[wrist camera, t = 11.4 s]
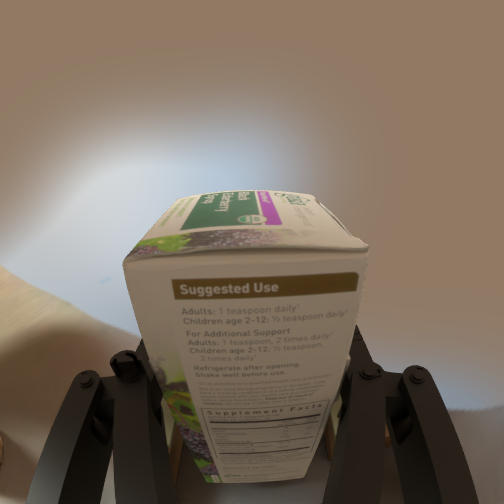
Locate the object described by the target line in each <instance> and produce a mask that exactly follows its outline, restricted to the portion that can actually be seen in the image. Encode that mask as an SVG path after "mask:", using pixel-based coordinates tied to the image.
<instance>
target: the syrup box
mask: <svg viewBox="0 0 504 504" xmlns="http://www.w3.org/2000/svg"><path fill="white" fill-rule="evenodd" d="M368 248H369V245H368V244H365V243H363V242H362V241H361V240H360V239H359V238H355V237H352V235H351V234H350V233H349V232H348V230H347V229H346V228H345V227H344V226H343V224H342V223H341V222H340V221H339V220H338V219H337V218H336V217H335V216H334V214H332V213H331V212H330V211H329V210H328V209H327V208H325V207H324V206H323V205H322V204H321V203H320V202H319V201H318V200H317V199H316V198H315V197H314V196H312V195H309V194H300V193H292V192H283V191H269V190H268V191H267V190H236V191H222V192H214V193H206V194H200V195H195V196H190V197H186V198H181V199H178V200H176V202H175V203H174V204H173V205H172V206H171V207H170V208H169V209H168V210H167V211H166V212H165V213H164V214H163V215H162V217H161V218H160V219H159V220H158V221H157V223H155V224H154V225H153V227H152V228H151V229H150V230H149V231H148V232H147V233H146V235H145V236H144V237H143V238H142V239H141V240H140V241H139V242H138V244H137V245H136V246H135V247H134V248H133V250H132V251H131V252H130V253H129V254H128V255H127V257H126V258H125V259H124V261H123V270H124V274H125V280H126V284H127V289H128V292H129V295H130V299H131V302H132V305H133V309H134V313H135V317H136V320H137V323H138V326H139V330H140V333H141V336H142V339H143V342H144V345H145V348H146V351H147V354H148V356H149V359H150V362H151V364H152V367H153V370H154V372H155V375H156V378H157V380H158V383H159V386H160V388H161V391H162V393H163V395H164V398H165V400H166V403H167V405H168V407H169V409H170V412H171V414H172V416H173V418H174V421H175V423H176V425H177V427H178V429H179V431H180V433H181V435H182V437H183V439H184V441H185V443H186V445H187V447H188V449H189V451H190V453H191V455H192V456H193V458H194V461H195V462H196V464H197V466H198V468H199V470H200V471H201V473H202V475H203V476H204V478H205V480H206V482H208V483H252V482H269V481H280V480H290V479H298V478H303V477H305V475H306V473H307V470H308V468H309V465H310V464H311V461H312V459H313V457H314V454H315V452H316V450H317V447H318V445H319V442H320V439H321V437H322V435H323V432H324V429H325V426H326V424H327V421H328V418H329V415H330V412H331V409H332V406H333V404H334V401H335V398H336V395H337V392H338V388H339V385H340V382H341V379H342V376H343V372H344V369H345V365H346V362H347V358H348V354H349V351H350V347H351V343H352V339H353V335H354V330H355V326H356V322H357V317H358V312H359V307H360V303H361V298H362V293H363V287H364V282H365V276H366V271H367V265H368V259H369V252H368Z"/></svg>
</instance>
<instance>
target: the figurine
mask: <svg viewBox="0 0 504 504" xmlns="http://www.w3.org/2000/svg"><path fill="white" fill-rule="evenodd" d="M2 456H3V442H2V438H1V436H0V464H1V462H2Z"/></svg>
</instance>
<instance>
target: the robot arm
mask: <svg viewBox="0 0 504 504" xmlns="http://www.w3.org/2000/svg"><path fill="white" fill-rule="evenodd" d="M110 365H111V367H112V369H113V371H114V373H115V375H116V376H111V377H102V378H100V376H99V374H97V373H96V372H95V371H92V370H86V371H83V372H81V373H79V374H78V375H77V376H76V377H75V378H74V380H73V382H72V384H71V386H70V388H69V390H68V393H67V395H66V397H65V399H64V401H63V403H62V405H61V408H60V410H59V412H58V414H57V417H56V419H55V421H54V424H53V426H52V428H51V431H50V433H49V436H48V438H47V441H46V443H45V446H44V448H43V451H42V454H41V456H40V459H39V462H38V465H37V468H36V470H35V473H34V476H33V480H32V483H31V486H30V489H29V493H28V496H27V500H26V503H25V504H100V501H101V496H102V491H103V487H104V482H105V478H106V474H107V470H108V465H109V461H110V457H111V454H112V450H113V462H114V485H115V498H116V504H178V502H177V498H176V493H175V488H174V483H173V477H172V472H171V466H170V459H169V453H168V446H167V439H166V431H165V422H164V413H163V408H162V405H161V401H162V398H163V397H164V395H163V393H162V391H161V388H160V386H159V383H158V380H157V378H156V375H155V372H154V370H153V367H152V364H151V362H150V359H149V356H148V354H147V351H146V348H145V345H144V342H143V339H141V341H140V345H139V346H138V348H137V350H136V352H134V351H132V350H125V351H121V352H119V353H117V354H115V355H114V356H113V357H112V358H111V360H110ZM339 396H341V400H342V404H341V407H340V410H339V413H338V415H337V417H338V418H339V420H338V427H337V433H336V439H335V445H334V451H333V457H332V462H331V467H330V472H329V477H328V481H327V486H326V490H325V494H324V498H323V502H322V504H380V498H381V490H382V480H383V469H384V455H385V431H386V425H387V428H388V432H389V436H390V440H391V444H392V448H393V452H394V456H395V461H396V465H397V470H398V474H399V479H400V484H401V489H402V494H403V500H404V504H479V503H478V498H477V495H476V491H475V487H474V484H473V480H472V477H471V474H470V470H469V467H468V464H467V461H466V458H465V455H464V452H463V450H462V447H461V444H460V441H459V439H458V436H457V433H456V431H455V428H454V426H453V423H452V421H451V418H450V416H449V414H448V411H447V409H446V407H445V404H444V402H443V400H442V398H441V395H440V393H439V391H438V389H437V387H436V385H435V382H434V380H433V378H432V376H431V374H430V373H429V372H428V370H427V369H425V368H424V367H421V366H418V365H414V366H410V367H407V368H406V369H405V370H404V372H403V373H392V372H386V371H384V370H383V369H382V367H381V366H380V365H378V364H376V363H375V362H373V360H372V358H371V356H370V353H369V351H368V349H367V347H366V344H365V342H364V341H363V338H362V335H361V334H360V331H359V329H358V327H357V325H356V326H355V330H354V335H353V339H352V343H351V347H350V351H349V354H348V358H347V362H346V365H345V369H344V372H343V376H342V379H341V382H340V385H339V388H338V392H337V395H336V398H335V401H334V402H336V401H338V399H339ZM164 399H165V398H164ZM165 402H166V400H165Z"/></svg>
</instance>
